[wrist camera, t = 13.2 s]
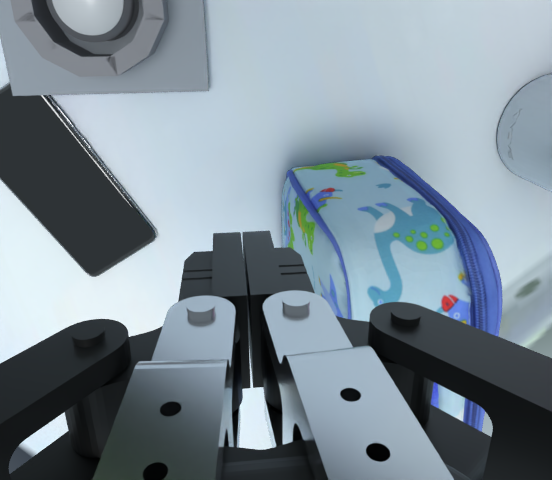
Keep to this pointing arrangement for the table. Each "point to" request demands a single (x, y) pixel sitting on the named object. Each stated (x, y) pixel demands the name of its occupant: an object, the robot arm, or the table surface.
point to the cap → (95, 18)
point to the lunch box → (391, 250)
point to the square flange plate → (105, 52)
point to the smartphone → (67, 184)
